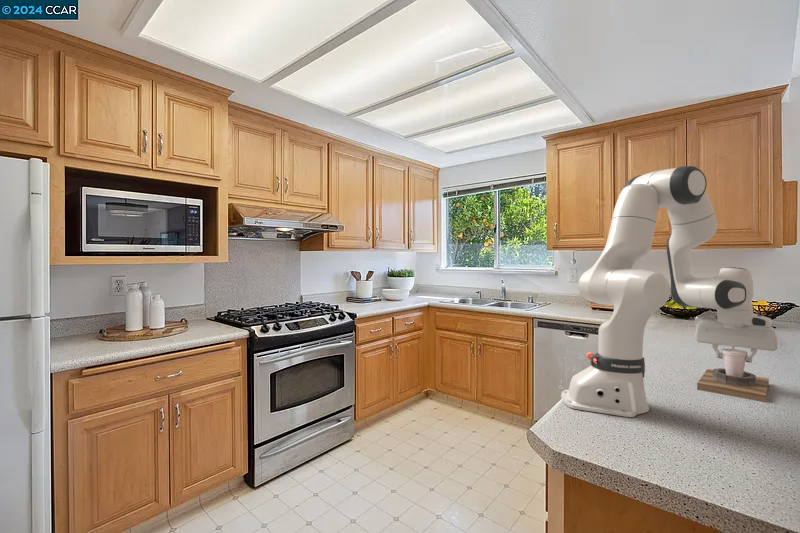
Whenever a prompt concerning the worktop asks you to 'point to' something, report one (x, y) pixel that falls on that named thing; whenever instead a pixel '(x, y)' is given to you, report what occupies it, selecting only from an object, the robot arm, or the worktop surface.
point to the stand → (734, 384)
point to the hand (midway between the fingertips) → (734, 360)
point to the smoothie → (734, 361)
